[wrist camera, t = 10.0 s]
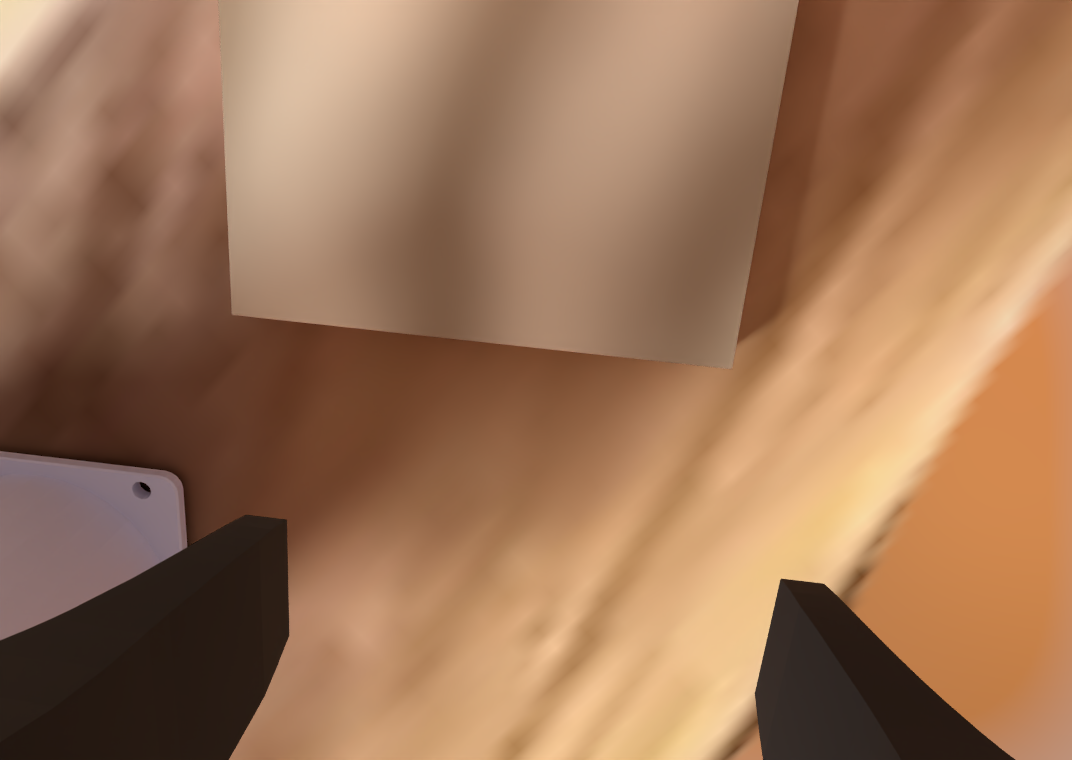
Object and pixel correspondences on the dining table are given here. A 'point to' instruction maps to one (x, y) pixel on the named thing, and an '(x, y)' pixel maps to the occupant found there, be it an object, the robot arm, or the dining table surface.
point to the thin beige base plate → (503, 167)
